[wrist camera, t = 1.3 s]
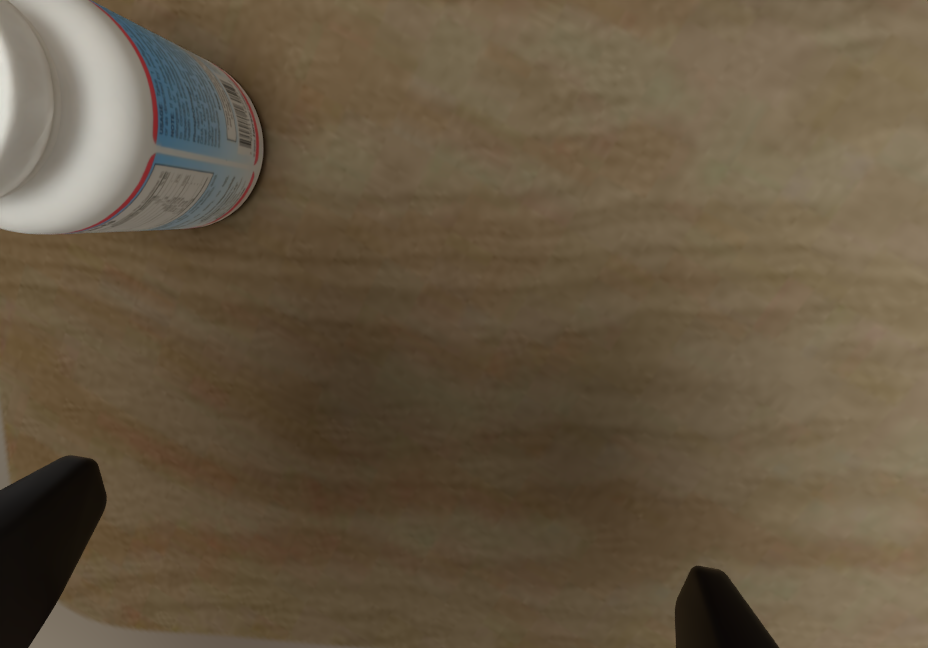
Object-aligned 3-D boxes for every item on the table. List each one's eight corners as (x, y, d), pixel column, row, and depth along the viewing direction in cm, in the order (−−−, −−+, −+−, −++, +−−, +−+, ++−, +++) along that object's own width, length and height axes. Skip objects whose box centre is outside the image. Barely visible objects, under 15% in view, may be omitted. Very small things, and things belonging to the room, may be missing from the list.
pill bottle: (117, 41, 23) (-246, -127, 12) (282, 79, 23) (67, -57, 12) (95, 210, 24) (-260, 198, 13) (253, 247, 24) (28, 269, 13)
